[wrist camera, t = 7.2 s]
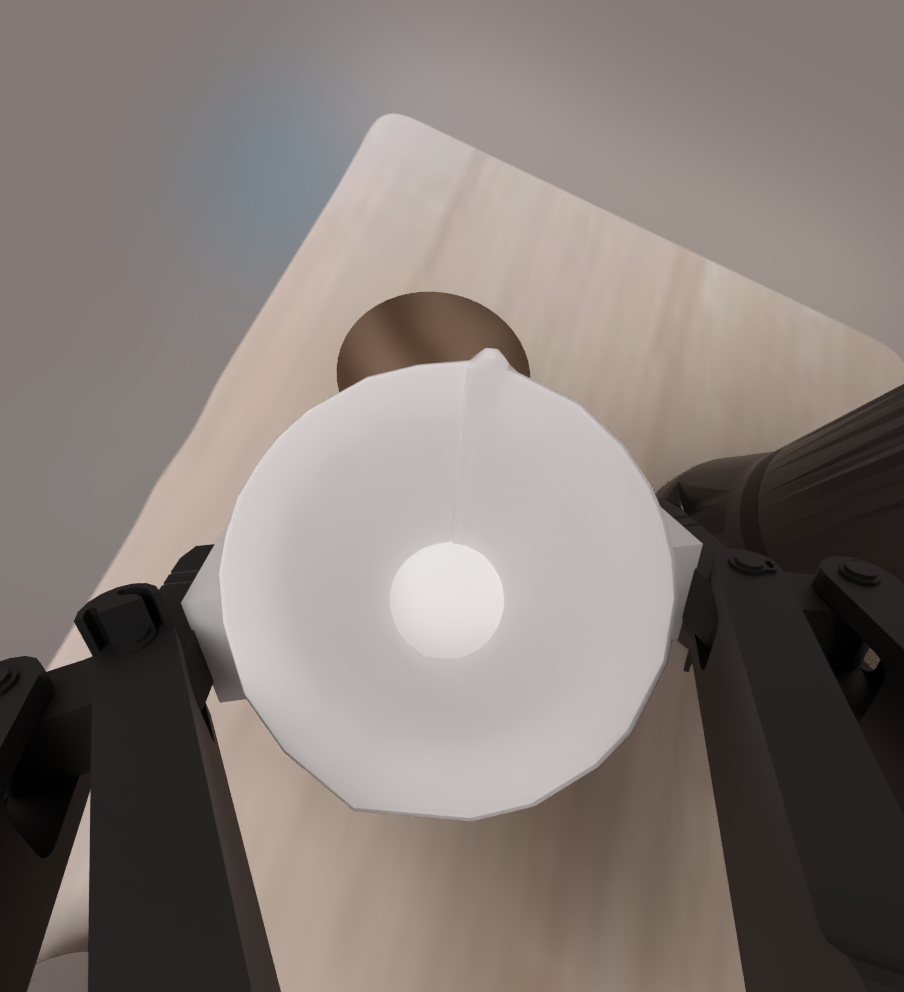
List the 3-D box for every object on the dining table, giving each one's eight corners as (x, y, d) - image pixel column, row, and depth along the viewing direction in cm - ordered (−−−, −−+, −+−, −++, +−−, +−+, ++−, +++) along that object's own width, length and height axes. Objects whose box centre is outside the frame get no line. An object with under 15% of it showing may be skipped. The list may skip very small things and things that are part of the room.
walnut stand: (484, 323, 39) (494, 277, 34) (537, 462, 35) (557, 433, 30) (329, 354, 36) (317, 310, 32) (369, 505, 33) (363, 482, 28)
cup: (563, 514, 20) (704, 391, 10) (524, 754, 17) (670, 900, 7) (361, 463, 20) (311, 292, 10) (285, 695, 17) (114, 762, 7)
